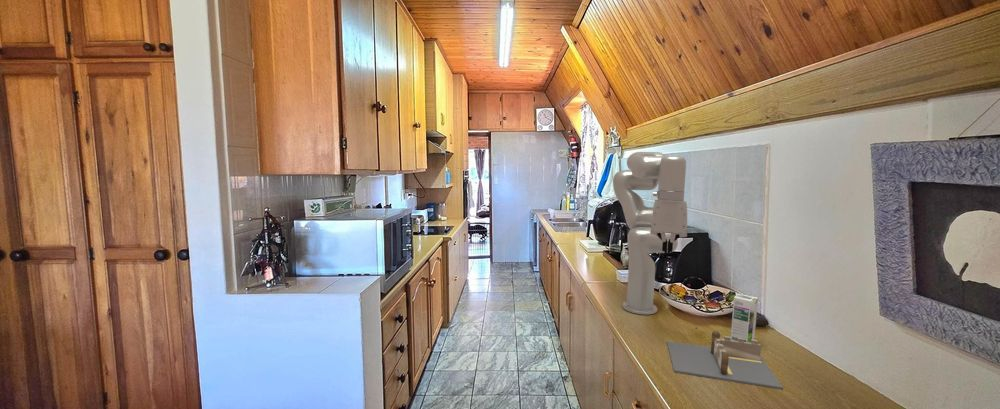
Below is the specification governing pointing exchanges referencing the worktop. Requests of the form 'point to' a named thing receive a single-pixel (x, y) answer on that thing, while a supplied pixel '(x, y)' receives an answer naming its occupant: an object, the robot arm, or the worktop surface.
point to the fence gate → (721, 356)
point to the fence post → (738, 347)
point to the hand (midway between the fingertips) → (667, 253)
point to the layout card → (706, 365)
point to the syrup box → (744, 317)
